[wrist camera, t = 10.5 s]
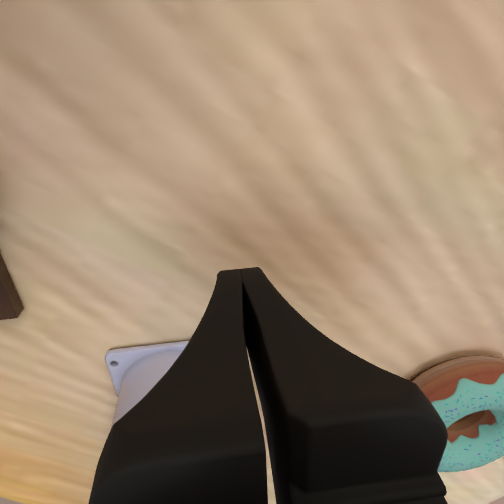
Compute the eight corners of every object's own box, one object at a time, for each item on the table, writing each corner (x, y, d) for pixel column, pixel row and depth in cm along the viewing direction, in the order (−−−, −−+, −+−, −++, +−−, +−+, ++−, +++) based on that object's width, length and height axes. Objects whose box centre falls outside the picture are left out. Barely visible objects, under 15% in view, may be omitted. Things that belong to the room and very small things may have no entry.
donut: (543, 351, 32) (585, 390, 29) (472, 441, 38) (500, 482, 34) (418, 338, 29) (447, 379, 26) (361, 436, 35) (379, 481, 32)
